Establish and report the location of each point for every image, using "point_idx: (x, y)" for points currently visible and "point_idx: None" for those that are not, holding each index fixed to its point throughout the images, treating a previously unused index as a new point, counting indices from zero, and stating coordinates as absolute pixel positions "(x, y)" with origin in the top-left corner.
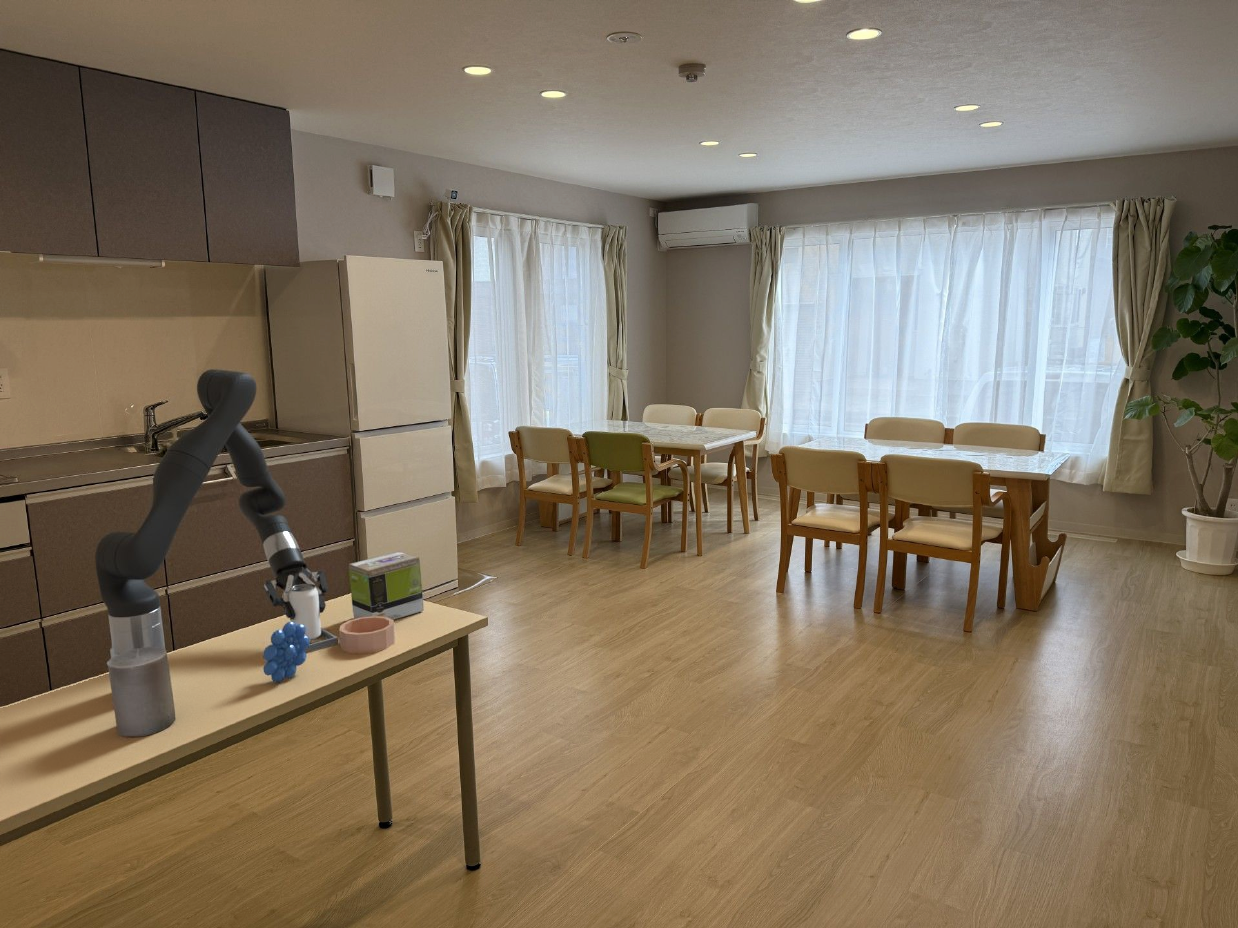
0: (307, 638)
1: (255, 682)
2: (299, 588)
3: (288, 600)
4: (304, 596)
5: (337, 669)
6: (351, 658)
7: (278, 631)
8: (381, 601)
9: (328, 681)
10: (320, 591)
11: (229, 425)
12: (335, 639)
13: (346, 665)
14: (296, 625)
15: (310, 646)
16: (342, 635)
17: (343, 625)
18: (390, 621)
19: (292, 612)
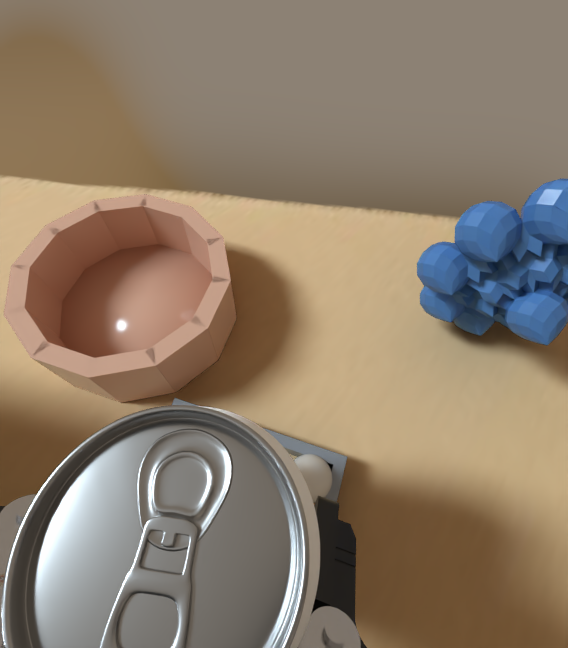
0: (439, 243)
1: (557, 387)
2: (186, 589)
3: (317, 610)
4: (263, 430)
5: (347, 254)
6: (269, 273)
7: None
8: None
9: (410, 223)
10: (11, 511)
11: None
12: (186, 403)
13: (314, 252)
14: (511, 216)
15: (286, 437)
16: (221, 312)
17: (154, 352)
18: (61, 227)
19: (331, 513)
